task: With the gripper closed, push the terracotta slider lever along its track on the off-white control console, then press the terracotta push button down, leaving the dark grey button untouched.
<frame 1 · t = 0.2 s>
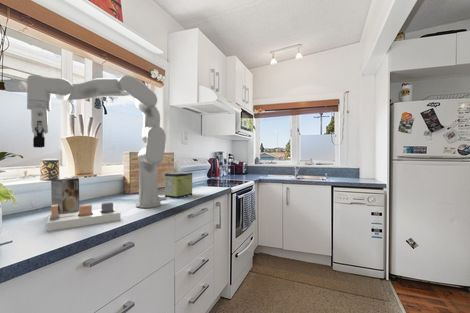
hand: (38, 147, 97), 31 cm above the worktop, tool pointing down, fingers open, 9 cm apart
coffee box: (65, 213, 110), on the worktop
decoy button: (107, 208, 100), point 4 cm above the worktop, slide at 0.0 cm
console: (85, 221, 96), on the worktop
slider lever: (54, 211, 89), point 6 cm above the worktop, slide at 0.0 cm
press button: (85, 211, 96), point 4 cm above the worktop, slide at 0.0 cm
protein box: (178, 196, 154), on the worktop
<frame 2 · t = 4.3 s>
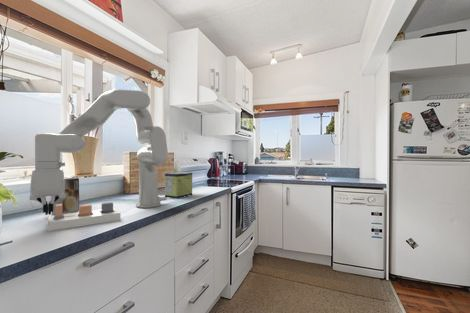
hand: (48, 214, 88), 5 cm above the worktop, tool pointing down, fingers closed
slider lever: (59, 211, 90), point 6 cm above the worktop, slide at 1.3 cm, touching gripper
everything else where it was.
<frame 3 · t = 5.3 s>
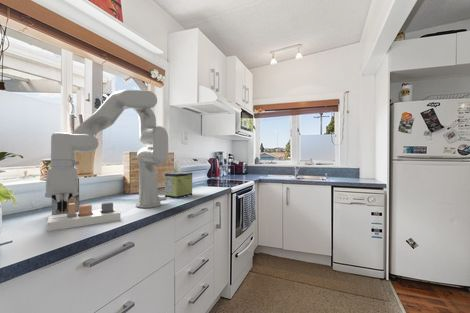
hand: (62, 211, 91), 5 cm above the worktop, tool pointing down, fingers closed
slider lever: (71, 209, 93), point 6 cm above the worktop, slide at 5.4 cm, touching gripper
everything else where it was.
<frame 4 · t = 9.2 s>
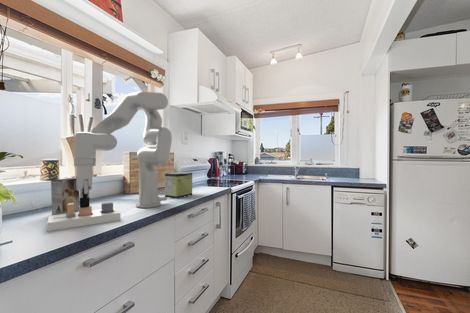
hand: (84, 207, 95), 6 cm above the worktop, tool pointing down, fingers closed
slider lever: (70, 209, 93), point 6 cm above the worktop, slide at 5.1 cm
press button: (85, 212, 96), point 4 cm above the worktop, slide at 0.5 cm, touching gripper
everything else where it was.
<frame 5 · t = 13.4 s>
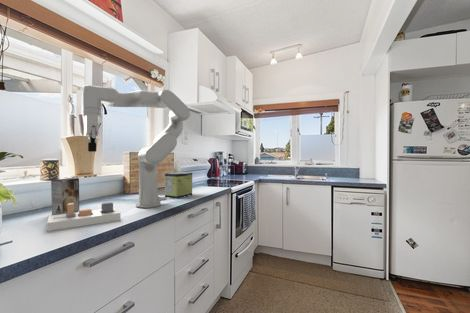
hand: (92, 151, 110), 29 cm above the worktop, tool pointing down, fingers closed
press button: (85, 215, 96), point 2 cm above the worktop, slide at 1.8 cm
everything else where it was.
at the end: slider lever slide at 5.1 cm; press button slide at 1.8 cm; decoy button slide at 0.0 cm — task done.
